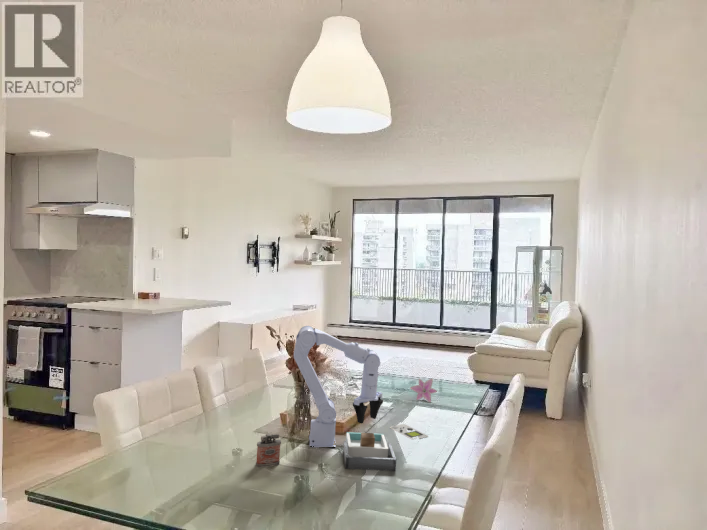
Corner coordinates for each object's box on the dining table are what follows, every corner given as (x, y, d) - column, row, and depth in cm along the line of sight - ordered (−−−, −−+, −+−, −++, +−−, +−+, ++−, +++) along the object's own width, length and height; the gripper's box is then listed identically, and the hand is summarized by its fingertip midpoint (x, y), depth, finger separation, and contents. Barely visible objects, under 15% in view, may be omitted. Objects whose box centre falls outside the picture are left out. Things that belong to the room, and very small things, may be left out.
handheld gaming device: (404, 423, 223) (429, 435, 211) (404, 425, 223) (429, 437, 211) (388, 426, 218) (412, 439, 206) (387, 428, 218) (412, 441, 206)
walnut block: (361, 452, 187) (362, 437, 187) (360, 447, 192) (361, 432, 191) (373, 453, 188) (374, 438, 187) (372, 448, 192) (373, 433, 192)
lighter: (257, 468, 172) (259, 437, 172) (254, 463, 175) (256, 434, 175) (281, 464, 176) (283, 435, 175) (277, 460, 179) (279, 431, 178)
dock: (345, 469, 176) (346, 457, 176) (343, 451, 190) (343, 440, 190) (395, 471, 177) (396, 459, 177) (389, 453, 192) (390, 442, 191)
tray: (347, 456, 185) (348, 447, 185) (345, 441, 199) (346, 432, 199) (387, 458, 186) (388, 448, 186) (382, 442, 200) (383, 433, 200)
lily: (406, 398, 263) (408, 384, 258) (420, 386, 270) (422, 372, 265) (426, 411, 256) (428, 397, 251) (440, 398, 264) (442, 384, 258)
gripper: (365, 390, 188) (362, 427, 189) (389, 383, 199) (387, 419, 200) (350, 385, 193) (347, 422, 193) (374, 379, 204) (372, 413, 204)
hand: (366, 420), depth 197 cm, fingers open, 7 cm apart
